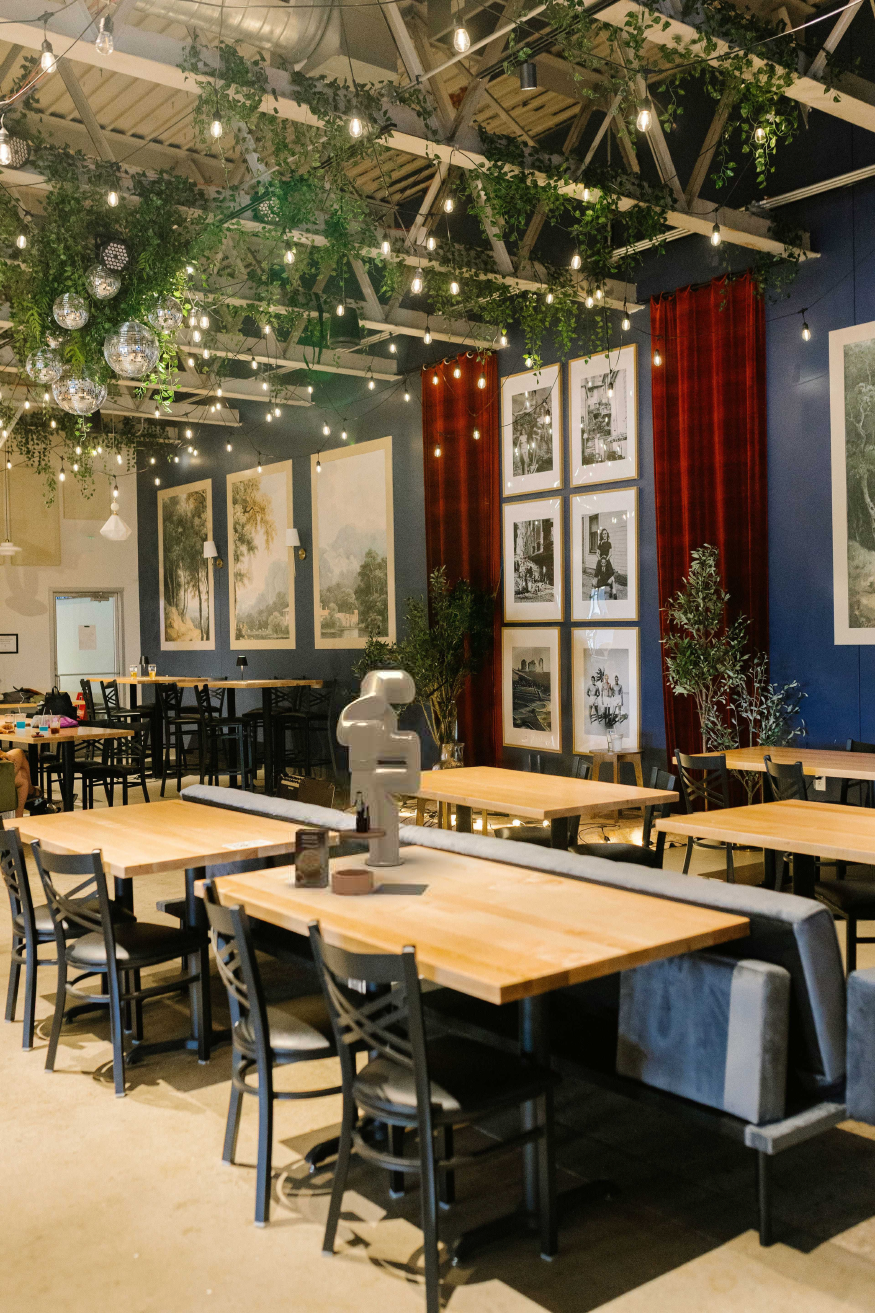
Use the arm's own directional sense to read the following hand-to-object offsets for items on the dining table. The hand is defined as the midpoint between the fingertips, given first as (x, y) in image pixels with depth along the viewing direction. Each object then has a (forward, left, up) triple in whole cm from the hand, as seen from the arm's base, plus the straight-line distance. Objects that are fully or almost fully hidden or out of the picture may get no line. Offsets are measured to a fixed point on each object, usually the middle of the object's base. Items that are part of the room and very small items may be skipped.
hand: (363, 830), depth 299 cm
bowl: (+1, -3, -17) cm, 18 cm away
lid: (0, 0, -1) cm, 1 cm away
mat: (-3, +10, -17) cm, 20 cm away
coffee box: (-7, -17, -17) cm, 25 cm away
